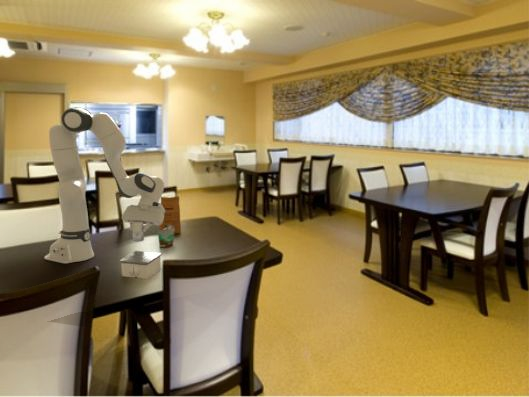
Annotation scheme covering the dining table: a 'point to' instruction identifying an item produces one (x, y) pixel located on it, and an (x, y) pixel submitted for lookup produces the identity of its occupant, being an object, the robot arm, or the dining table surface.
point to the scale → (141, 269)
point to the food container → (166, 236)
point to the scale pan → (140, 257)
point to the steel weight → (137, 231)
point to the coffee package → (171, 213)
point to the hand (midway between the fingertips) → (137, 230)
